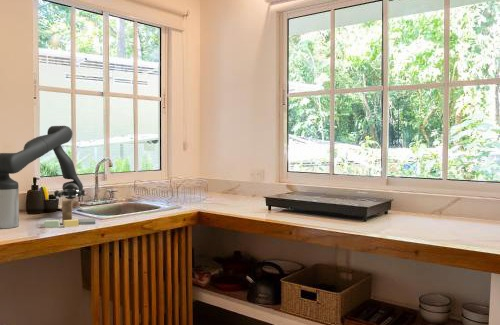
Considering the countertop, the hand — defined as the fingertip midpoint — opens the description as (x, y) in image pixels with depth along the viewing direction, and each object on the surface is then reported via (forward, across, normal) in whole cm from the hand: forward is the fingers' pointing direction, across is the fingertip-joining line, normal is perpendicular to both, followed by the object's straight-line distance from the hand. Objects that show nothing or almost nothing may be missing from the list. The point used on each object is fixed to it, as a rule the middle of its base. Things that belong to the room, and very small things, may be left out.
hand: (69, 195), depth 219 cm
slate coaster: (+12, +8, +12) cm, 19 cm away
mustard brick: (+19, +2, +12) cm, 22 cm away
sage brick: (+18, -6, +12) cm, 22 cm away
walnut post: (+12, 0, +12) cm, 17 cm away
